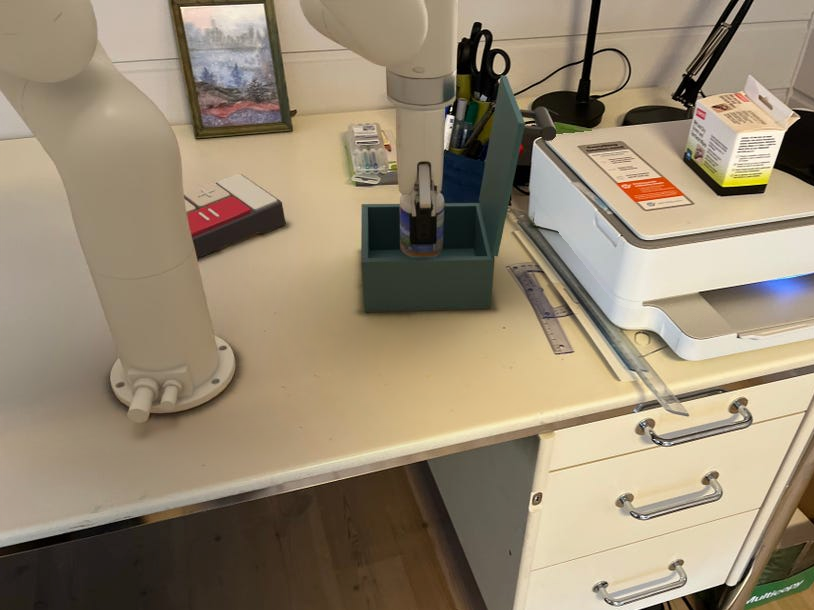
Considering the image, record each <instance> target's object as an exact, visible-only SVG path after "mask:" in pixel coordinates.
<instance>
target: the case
mask: <svg viewBox="0 0 814 610" xmlns="http://www.w3.org/2000/svg"><path fill="white" fill-rule="evenodd" d="M360 218H361V223H360V224H361V228H360V229H361V230H360V231H361V233H360V234H361V235H360V237H361V238H360V240H361V242H360V251H361V252H360V264H361V266H360V267H361V281H362V283H361V284H362V296H363V297H362V299H363V312H364V313H387V312H388V313H389V312H424V311H425V312H428V311H429V312H430V311H459V310H460V311H461V310H464V311H465V310H491V309H492V300H493V299H492V297H493V287H494V275H495V274H494V273H495V262H496V261H495V260H496V259H495V256H492V253H491V249H490V245H489V240H488V236H487V232H486V228H485V223H484V219H483V215H482V211H481V206H480V202H449V203H448V202H444V225H443V248H442V251H441V253H440V254H439V255H437V256H436V257H408V256H407V255H405V254H404V253H403V252H402V250H401V248H400V203H362V204H361V217H360Z"/></svg>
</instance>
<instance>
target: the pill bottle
mask: <svg viewBox="0 0 814 610" xmlns="http://www.w3.org/2000/svg"><path fill="white" fill-rule="evenodd" d="M414 188H415V189H419V185H415V184H414ZM430 189H431V185H430ZM417 202H419V196H416V203H417ZM444 203H445V198H444V195H443V193H441V191H440V192H439V193H438V194H436V193H435V212H436V213H437V242H436V244H426V245H412V244H410V224H409V213H412V208H411V193H410V194H405V195H403V194H400V197H399V204H400V248H401V250H402V252H403V253H404V254H405V255H407V256H408V257H436V256H437V255H439V254H440V253H441V251H442V248H443V225H444Z"/></svg>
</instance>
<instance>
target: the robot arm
mask: <svg viewBox="0 0 814 610" xmlns="http://www.w3.org/2000/svg"><path fill="white" fill-rule="evenodd" d="M459 1H460V0H299V7H300V9H301V12H302V14H303V16H304V18H305V19H306V21H307V22H308V24H309V25H310V26H311V27H312V28H313V29H314V30H316V31H317V32H318V33H320V34H321V35H322V36H324V37H325V38H327V39H328V40H330V41H333V42H334V43H336V44H338V45H340V46H341V47H343V48H346V49H347V50H349V51H350V52H353V53H354V54H356V55H358V56H359V57H361V58H363V59H364V60H366V61H368V62H369V63H371V64H374V65H377V66H379V67H385V82H386V83H385V84H386V98H387V100H388V102H390V104H393V105H394V106H395V146H396V148H395V150H396V173H397V186H398V192H399V193H400V195H402V194H403V195H405V194H410V193H411V208H412V213H409V224H410V244H412V245H426V244H436V242H437V213H436V212H435V193H436V194H438V193H439V192H440V193H441V192H442V189H443V188H442V187H443V177H444V159H445V157H444V156H445V134H446V133H445V131H446V130H445V129H446V126H445V125H446V108H447V107H449V106H451V105H453V104H454V103H455V102H456V100H457V74H458V73H457V71H458V69H457V64H458V61H457V60H458V33H459ZM97 21H98V20H97V16H96V13H95V10H94V6H93V4H92V2H91V0H0V92H1V93H2V95H3V96H4V97H5V99H6V100H7V101H8V103H9V104H10V105H11V107H12V108H13V109H14V111H15V112H16V113H17V115H18V116H19V118H20V119H21V120H22V121H23V123H24V124H25V125H26V127H27V128H28V130H30V132H31V133H32V135H33V136H34V138H35V139H36V140H37V141H38V142H39V144H40V146H41V147H42V149H43V150H44V152H45V153H46V154H47V155H48V157H49V158H50V159H51V161H52V162H53V164H54V166H55V168H56V170H57V172H58V175H59V177H60V180H61V181H62V184H63V187H64V190H65V193H66V197H67V201H68V205H69V208H70V209H69V210H70V212H71V217H72V221H73V224H74V229H75V231H76V234H77V238H78V242H79V244H80V247H81V250H82V254H83V256H84V259H85V261H86V265H87V267H88V269H89V273H90V275H91V279H92V282H93V285H94V288H95V291H96V294H97V297H98V299H99V302H100V306H101V308H102V312H103V315H104V317H105V320H106V323H107V326H108V329H109V332H110V335H111V338H112V340H113V343H114V347H115V350H116V352H117V355H118V357H117V359H116V360H115V362H114V363H113V365H112V367H111V371H110V377H109V380H110V385H111V388H112V391H113V392H114V395H115V397H116V398H117V399H118V400H119V401H120V403H122V404H124V405H125V406H126V407H128V410H127V413H126V416H127V419H128V420H130V421H131V422H134V423H138V424H139V423H140V424H142V423H145V422H146V421H148V419H149V417H150V414H169V413H170V414H171V413H176V412H181V411H186V410H189V409H192V408H195V407H196V408H197V407H198V406H200V405H203V404H205V403H207V402H209V401H211V400H212V399H213V398H215V397H217V396H218V395H220V394H221V392H223V391H224V390H225V389H226V388H227V387H228V385H229V384H230V382H231V381H232V380H233V377H234V375H235V372H236V367H237V366H236V358H235V355H234V354H235V353H234V351H233V349H232V348H231V346H230V344H228V343H227V342H226V340H224V339H223V338H220V337H219V336H217V335H215V331H214V328H213V323H212V319H211V313H210V309H209V305H208V301H207V297H206V292H205V288H204V284H203V279H202V278H203V277H202V275H201V270H200V264H199V262H198V258H197V256H196V252H195V247H194V243H193V240H192V235H191V231H190V226H189V222H188V217H187V212H186V206H185V200H184V193H185V192H184V178H183V177H184V176H183V163H182V155H181V150H180V146H179V142H178V139H177V136H176V133H175V131H174V129H173V128H172V126H171V123H170V122H169V120H168V118H167V117H166V115H165V114H164V113H163V112H162V110H161V109H160V108H159V106H158V105H157V104H156V103H155V102H154V100H152V99H151V98H150V97H149V96H148V95H147V94H146V93H145V92H144V91H142V90H141V89H140V88H139V87H138V86H137V85H136V84H134V82H132V81H131V80H130V79H129V78H127V77H126V76H125V75H124V74H123V73H122V72H120V70H119V69H118V68H117V67H116V65H115V64H114V62H113V61H112V59H111V58H110V56H109V54H108V53H107V52H106V50H105V48H104V47H103V44H102V43H101V41H100V40H99V38H98V36H99V35H98V34H99V33H98V31H99V29H98V23H97ZM414 184H415V185H419V189H415V188H414ZM430 185H431V189H430ZM416 196H419V202H417V203H416Z"/></svg>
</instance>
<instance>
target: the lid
mask: <svg viewBox="0 0 814 610" xmlns="http://www.w3.org/2000/svg"><path fill="white" fill-rule="evenodd" d="M494 106H495V107H494V111H493V117H492V123H491V128H490V130H491V131H490V135H489V139H488V141H489V142H488V145H487V146H488V147H487V152H486V157H485V163H484V167H483V174H482V179H481V186H480V192H479V197H478V203H480V206H481V211H482V215H483V219H484V223H485V228H486V232H487V236H488V240H489V245H490V249H491V253H492V256H494V257H495V258H497V257H499V253H500V249H501V243H502V238H503V233H504V229H505V223H506V220H507V219H506V218H507V215H508V214H507V213H508V209H509V204H510V199H511V195H512V190H513V186H514V185H513V184H514V180H515V175H516V171H517V170H516V169H517V165H518V161H519V156H520V151H521V146H522V140H523V136H524V134H528V135H537V136H540V137H541V139H542V140H543V141H544V142H550V141H551V142H552V140H553V139H554V138H555V137H556V134H557V131H556V128H555V126H554V122H553V120H552V117H551V115H550V113H549V111H548V109H547V108H546V107H544V106H538V107H536V108H535V109H534V110H529V109H522V108H521V109H520V107H519V104H518V102H517V98H516V97H515V95H514V92H513V89H512V86H511V84H510V82H509V79H508V76H507V75H503V74H502V75H500V78H499V84H498V89H497V94H496V100H495V105H494ZM524 119H532V120H533V121H534V123H535V125H536V126H535V125H526V122H525V120H524Z"/></svg>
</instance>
